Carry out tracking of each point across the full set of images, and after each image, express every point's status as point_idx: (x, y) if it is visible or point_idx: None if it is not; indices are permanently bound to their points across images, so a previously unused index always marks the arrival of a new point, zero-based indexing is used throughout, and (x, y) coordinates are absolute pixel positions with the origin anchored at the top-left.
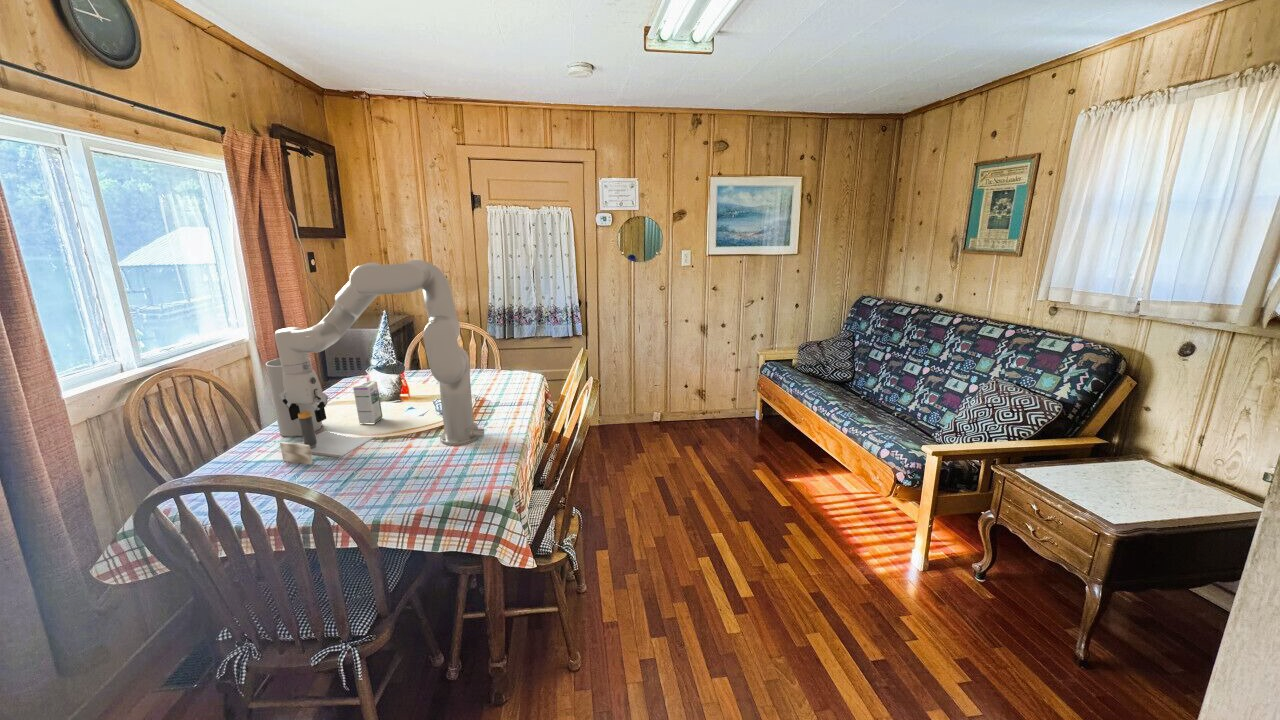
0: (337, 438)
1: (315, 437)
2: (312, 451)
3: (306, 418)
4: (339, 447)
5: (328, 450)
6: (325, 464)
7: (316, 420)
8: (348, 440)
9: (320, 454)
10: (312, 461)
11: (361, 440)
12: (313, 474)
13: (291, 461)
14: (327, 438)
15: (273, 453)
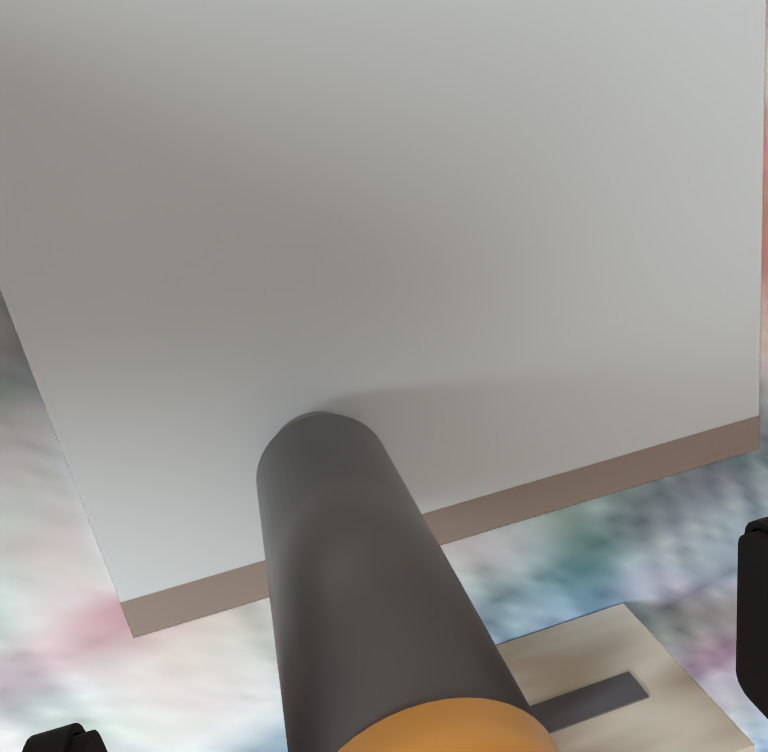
0: (369, 146)
1: (395, 469)
2: (426, 503)
3: None
4: (604, 312)
5: (557, 412)
6: (727, 560)
7: (762, 710)
8: (548, 129)
9: (560, 499)
10: (633, 617)
11: (693, 61)
12: None
13: None
14: (242, 205)
15: (64, 709)
